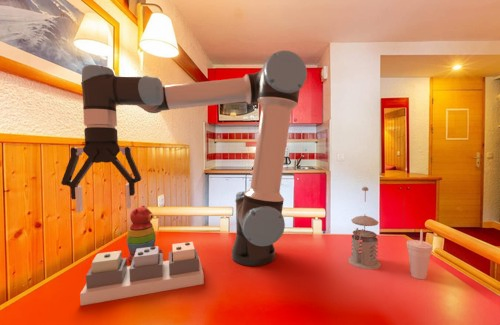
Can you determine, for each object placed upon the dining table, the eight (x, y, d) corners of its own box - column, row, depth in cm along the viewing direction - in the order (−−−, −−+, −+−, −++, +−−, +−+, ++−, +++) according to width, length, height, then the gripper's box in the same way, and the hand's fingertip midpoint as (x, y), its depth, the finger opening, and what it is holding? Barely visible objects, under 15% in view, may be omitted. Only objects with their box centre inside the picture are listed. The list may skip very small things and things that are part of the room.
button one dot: (122, 264, 73) (121, 249, 73) (118, 273, 68) (117, 258, 67) (98, 267, 71) (97, 252, 71) (92, 277, 66) (91, 261, 65)
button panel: (198, 265, 83) (198, 245, 83) (203, 283, 72) (203, 261, 71) (94, 281, 74) (93, 259, 74) (80, 305, 63) (79, 279, 62)
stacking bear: (146, 264, 84) (144, 211, 83) (120, 262, 86) (117, 210, 85) (164, 251, 95) (162, 204, 94) (139, 249, 97) (137, 203, 96)
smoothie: (423, 284, 70) (425, 234, 69) (400, 274, 76) (401, 227, 75) (436, 278, 73) (438, 230, 72) (413, 268, 79) (414, 224, 78)
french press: (384, 261, 84) (386, 186, 82) (373, 274, 75) (374, 191, 74) (354, 253, 91) (355, 183, 89) (341, 264, 82) (341, 187, 81)
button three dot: (158, 259, 76) (158, 244, 76) (158, 267, 71) (157, 252, 70) (137, 262, 74) (136, 247, 74) (134, 271, 69) (133, 255, 69)
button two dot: (192, 254, 79) (192, 240, 79) (194, 262, 74) (194, 247, 73) (172, 257, 78) (172, 243, 77) (173, 265, 72) (172, 250, 72)
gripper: (149, 128, 74) (152, 203, 76) (54, 128, 67) (59, 209, 69) (147, 126, 67) (150, 208, 69) (40, 125, 60) (46, 217, 61)
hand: (105, 209), depth 69 cm, fingers open, 11 cm apart
